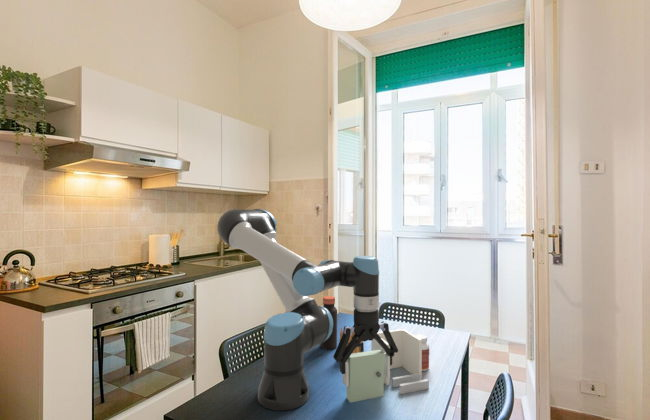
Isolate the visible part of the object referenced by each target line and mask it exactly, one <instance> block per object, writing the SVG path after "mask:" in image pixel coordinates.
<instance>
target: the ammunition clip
mask: <svg viewBox="0 0 650 420" xmlns="http://www.w3.org/2000/svg"><path fill="white" fill-rule="evenodd" d="M343 330H344V329H343V328H342V327H341V328H340V332H339V340H338V343H339V342H340V340H341V337H342V335H343ZM354 334H355V333H354V332H352V335H350V338H349V341H348V343H347V345H348V344H349V342H350V341H351V340H352V337H353V335H354ZM357 339H358V337H357ZM364 343H365V342H363V341H361V342H360V344H358V345H357V347H356V348H355V349H354V351H353V352H352V354H353V353H360V352H365V350H364V347H365V346H364ZM346 347H347V346H346Z"/></svg>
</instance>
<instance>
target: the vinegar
mask: <svg viewBox="0 0 650 420" xmlns="http://www.w3.org/2000/svg"><path fill="white" fill-rule="evenodd" d="M335 304H336V296H333V295H326V296H322V305H323V306H322V307H325V308H326V309H327V310H328V311H329V312H330V314H331V316H332V319H333V330H332V333H331V335H330V337H329V338H328V339H327V340H325V341H324V342H323V343H322V344H320V345H319V347H320V348H321V349H323V350H327V351H328V350H334V349H337V347H338V308H336V306H335Z"/></svg>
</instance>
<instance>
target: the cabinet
mask: <svg viewBox="0 0 650 420" xmlns="http://www.w3.org/2000/svg"><path fill="white" fill-rule="evenodd" d="M389 332H390V334H391V336H392V338H393V340H394V342H395V344H396V346H397V349H398V352H397V353H396V352H395V353H394V356H393V357H392V365H391V366H390V370H391V369H397V368H404V369H405V370H406V371H407V372H409V373H410V374H406V375H401V376H395V377H390V378H387V377H386V376H385V375H384V385H385V386H390V384H391V386H392V387H393V388H396V387H399V388H398V393H399V394H401V395H404V394H409V393H413V392H419V391H425V390H428V389H430V388H429V387H430V383H429V382H430V381H429V380H428V379H427V378H426V379H422V378H423V377H422V375H423V374H422V372H423V371H422V340H421V339H420V338H418V337H416V336H415V335H416V334H413V333H411V332H409V331H408V330H406V329H404V328H403V329H402V328H401V329H394V330H389ZM377 334H378V335H379V336H380V337H381V339H382V340H383V341H384V343H385V344H386V345H387V346H388V347H389V348H390V346H389V344H388V342H387V340H386V338H385V336H384V333H383V331H378V333H377ZM370 343H371V348H370V349H371V350H370V351H373V350H381V351H382V352H384V353H386V352H385V350H384V349H383V348H382V347H381V346H380V345H379V343H378V342H377V341H376V340H375V339H373V340H371V341H370ZM390 382H391V383H390Z"/></svg>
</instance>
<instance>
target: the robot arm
mask: <svg viewBox="0 0 650 420" xmlns="http://www.w3.org/2000/svg"><path fill="white" fill-rule="evenodd" d="M216 225H217V226H216V228H217V234H218V236H219V238H220V239H221V240H222V241H223V242H224V243H225V244H226V245H227V246H230V248H233V249H235V250H237V249H240V250H241V251H243V252H244V253H246V254H248V255H250V256H251V257H253V258H254V259H256V260H257V261H259V262H260V264H261V266H262V268H263V270H264V271H265V273H266V274H265V275H266V276H267V277H268V279H269V282H270V283H271V285H272V287H273V288H274V291H275V292H276V295H277V296H278V298H279V299H280V302H281V304H282V305H283V307H284V309H285V312H283V313H277V314H275V315H272V316H271V317H270V318H268V319H267V320H266V321H265V325H264V332H263V362H264V363H263V373H262V377H261V379H260V382H259V386H258V388H257V402H258V403H259V404H260V405H261V406H262V407H263V408H266V409H268V410H272V411H290V410H291V411H292V410H294V409H297V408H299V407H302V406H303V405H305V403H307V402H308V400H309V396H310V389H309V388H310V386H309V383H308V381H307V377H306V374H305V371H304V354H306V353H307V352H309V351H311V350H312V349H314V348H316V347H317V346H320V344H322V343H323V342H324V341H325V340H327V339H328V338H329V337H330V335H331V333H332V330H333V319H332V316H331V314H330V312H329V311H328V310H327V309H326V308H325V307H323V306H322V305H318V303H317V301H316V299H315V298H313V297H310V296H314V295H317V294H319V293H322V292H324V291H327V290H330V289H332V288H336V287H347V288H348V287H349V288H352V290H353V326H346V325H344V326H343V329H342V330H343V335H342V337H341V340H340V342H339V341H338V343H337V347H336V348H335V349H336V350H335V351H334V354H333V359H334V360H335V361H336V363H339V373H341V374H342V383H343V384H344V386H345V387H347V386H349V369H348V362H347V360H348V358H349V357H350V355H351V354H352V352H353V351H354V349H355V348H356V347H357V345H358V344H360V342H361V341H363V343H365V342H367V341H370V342H371V341H372V340H373V339H375V340H376V341H377V342H378V343H379V345H380V346H381V347H382V348H383V349H384V350H385V352H386V353H384V375H385V376H386V377H387V378H390V379H391V369H390V366H391V365H392V357H393V356H394V353H395V352H396V353H397V352H398V349H397V346H396V344H395V342H394V340H393V338H392V336H391V334H390V332H389V331H390V328H389V327H390V326H389V324H388V323H387V322H385V321H384V320H382V321H381V322H380V310H379V307H380V297H379V295H380V292H379V290H380V287H379V286H380V285H379V283H380V280H379V279H380V270H379V260H378V258H377V257H375V256H372V255H357V256H354V257H353V259H352V262H351V261H342V260H341V261H340V260H335V259H329V260H328V259H327V260H326V259H325V260H321V262H320V263H319V264H315V263H313V262H311V261H309V260H307V259H306V258H304V257H302V256H301V255H299V254H297V253H296V252H294V251H292V250H291V249H289V248H287V247H285V246H284V245H281V244H280V243H278V241H277V237H278V233H277V230H278V228H277V221H276V218H275V216H274V215H273V214H272V213H271V212H269V210H266V209H261V208H253V209H252V208H251V209H248V208H247V209H245V208H244V209H243V208H242V209H241V208H233V209H230V210H228V211H226V212H224V213H223V214H222V215H221V216H220V217H219V219H218V222H217V224H216ZM379 322H380V323H379ZM380 330H381V332H383V333H384V336H385V338H386V340H387V342H388V344H389V346H390V348H389V347H388V346H387V345H386V344H385V343H384V341H383V340H382V339H381V337H380V336H379V335H378V334H377V333H378V332H380ZM352 332H354V333H355V334H354V335H353V337H352V340H351V341H350V342H349V344H348V345H347V343H348V341H349V338H350V335H352ZM357 337H358V339H357ZM346 346H347V347H346Z"/></svg>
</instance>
